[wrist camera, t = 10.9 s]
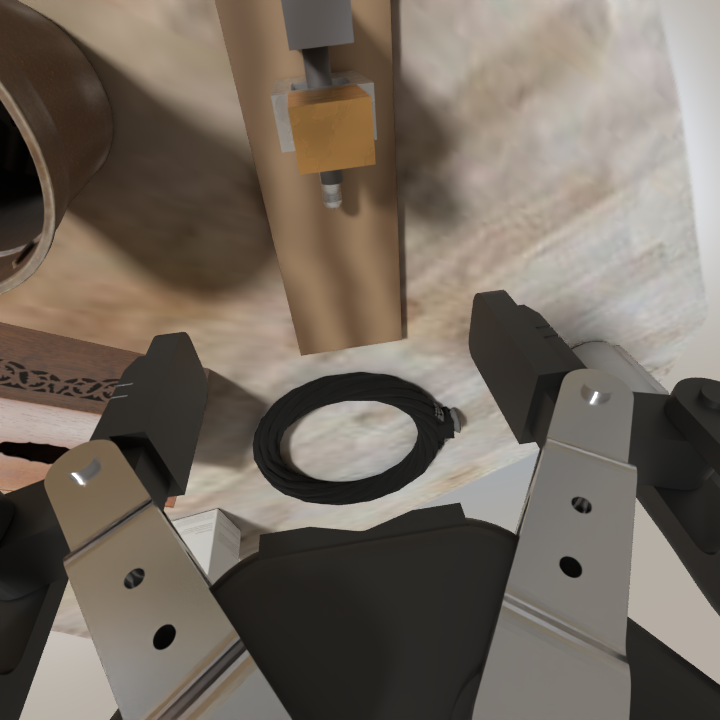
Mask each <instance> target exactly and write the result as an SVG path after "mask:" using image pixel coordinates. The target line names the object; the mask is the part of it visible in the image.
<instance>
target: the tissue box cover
mask: <svg viewBox="0 0 720 720" xmlns="http://www.w3.org/2000/svg"><path fill="white" fill-rule="evenodd" d="M139 356H146V355H145V354H140V353H136V352H131V351H127V350H122V349H118V348H113V347H109V346H104V345H100V344H95V343H91V342H86V341H82V340H77V339H73V338H68V337H64V336H59V335H55V334H50V333H46V332H41V331H37V330H32V329H28V328H23V327H19V326H14V325H10V324H5V323H1V322H0V490H5V491H15V490H17V489H20V488H23V487H25V486H28V485H30V484H33V483H36V482H38V481H41V480H43V479H45V477H46V474H47V472H48V470H49V469H50V467H51V466H52V465H53V464H54V463H55V461H56V460H57V459H59V458H60V457H61V456H62V455H63V454H65V453H66V452H67V451H69V450H71V449H72V448H74V447H76V446H78V445H80V444H83V443H85V442H89V440H90V438H91V436H92V434H93V432H94V430H95V428H96V426H97V424H98V422H99V420H100V418H101V416H102V414H103V412H104V410H105V408H106V406H107V404H108V402H109V400H111V399H112V397H111V396H112V394H113V392H114V390H115V388H116V387H118V386H117V384H118V382H119V380H120V378H121V376H122V374H123V372H124V370H125V369H126V368H127V367H128V366H129V365H130V364H131V363H132V362H133V361H134V360H135V359H136V358H138V357H139ZM203 369H204V372H205V374H206V377H207V380H208V376H209V371H210V369H208V368H203ZM176 497H177V496H173V497H167V499H166V503H165V507H172V508H174V504H175V501H176Z"/></svg>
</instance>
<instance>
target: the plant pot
mask: <svg viewBox="0 0 720 720" xmlns="http://www.w3.org/2000/svg"><path fill="white" fill-rule="evenodd" d="M11 119H13V120H14V122H15V124H16V125H17V127H18V128H16V127H14V126H13V125H12V123H11ZM113 134H114V127H113V117H112V111H111V108H110V104H109V101H108V98H107V95H106V93H105V90H104V88H103V86H102V83H101V81H100V79H99V77H98V76H97V74H96V72H95V70H94V69H93V67H92V66H91V64H90V63H89V61H88V60H87V58H86V57H85V55H84V54H83V53H82V52H81V50H80V49H79V48H78V47H77V46H76V44H75V43H74V42H73V41H72V40H71V39H70V38H69V37H68V36H67V35H66V34H65V33H64V32H63V31H62V30H61V29H60V28H59V27H58V26H56V25H55V24H54V23H52V22H51V21H49V20H48V19H46V18H45V17H43V16H42V15H40V14H39V13H37V12H36V11H34V10H33V9H31V8H30V7H28V6H26V5H25V4H23V3H21V2H19V1H18V0H0V294H2V293H5V292H7V291H9V290H11V289H13V288H15V287H17V286H18V285H20V284H21V283H23V282H24V281H26V280H27V279H28V278H29V277H30V276H31V275H32V274H33V273H34V272H35V271H36V270H37V269H38V267H39V266H40V265H41V263H42V262H43V260H44V259H45V257H46V255H47V253H48V251H49V249H50V247H51V245H52V242H53V239H54V235H55V231H56V229H57V228H58V226H59V224H60V222H61V220H62V218H63V216H64V213H65V211H66V207H67V206H68V205H69V204H70V203H71V201H72V200H73V199H74V198H75V197H76V195H77V194H78V193H79V192H80V191H81V190H82V188H83V187H84V186H85V185H86V184H87V182H88V181H89V180H90V179H91V178H92V177H93V176H94V174H95V173H96V172H97V171H98V170H99V169H100V168H101V167H102V166H103V164H104V163H105V161H106V159H107V156H108V154H109V151H110V148H111V143H112V138H113Z"/></svg>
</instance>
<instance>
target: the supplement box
mask: <svg viewBox="0 0 720 720" xmlns="http://www.w3.org/2000/svg"><path fill="white" fill-rule="evenodd" d="M171 522H172V523H173V525H174V526H175V528H176V529H177V531H178V532H179V534H180V535H181V537H182V538H183V540H184V541H185V543H186V544H187V546H188V547H189V549H190V550H191V552H192V553H193V555H194V556H195V558H196V559H197V561H198V562H199V564H200V565H201V567H202V568H203V570H204V571H205V573H206V574H207V575H208V577H209V578H210V580H211V581H212V583H213V584H214V583H215V582H216V581H217V580H218V579H219V578H220V577H221V576H222V575H223V574H224V573H225V572H227V571H228V570H229V569H230V568H232V567H233V566H234V565H236V564H237V563H238V559H239V548H240V538H241V531H240V530H239V529H238V528H237V527H236V526H235V525H234V524H233V523H232V522H231V521H230V520H229V519H228V518H227V517H226V516H225V515H224V514H223V513H222V512H221V511H220V510H219V509H215V510H211V511H208V512H204V513H200V514H197V515H193V516H189V517H186V518H182V519H179V520H175V521H171Z"/></svg>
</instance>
